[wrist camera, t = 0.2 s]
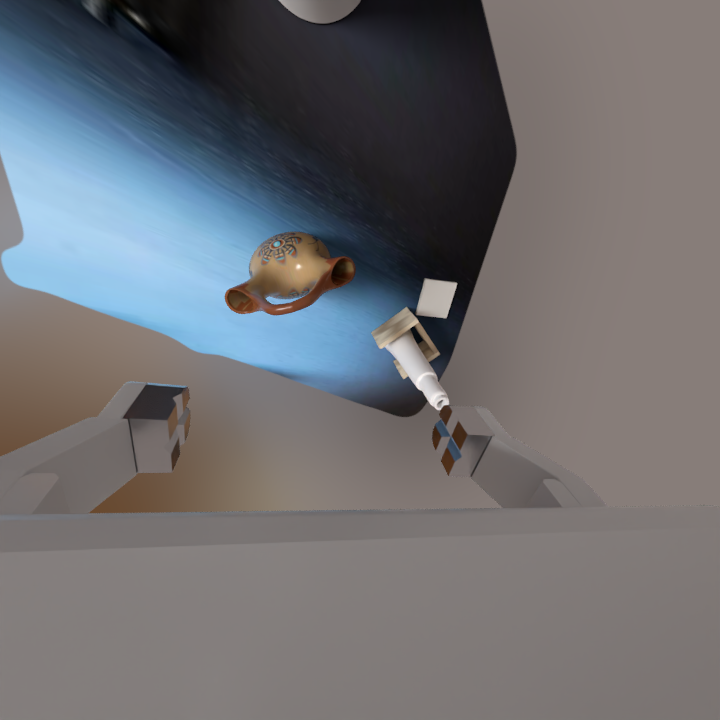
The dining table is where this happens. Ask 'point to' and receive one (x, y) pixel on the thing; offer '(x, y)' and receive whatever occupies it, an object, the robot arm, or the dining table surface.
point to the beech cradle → (397, 328)
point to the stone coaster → (436, 298)
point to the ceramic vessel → (289, 274)
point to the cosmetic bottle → (418, 368)
